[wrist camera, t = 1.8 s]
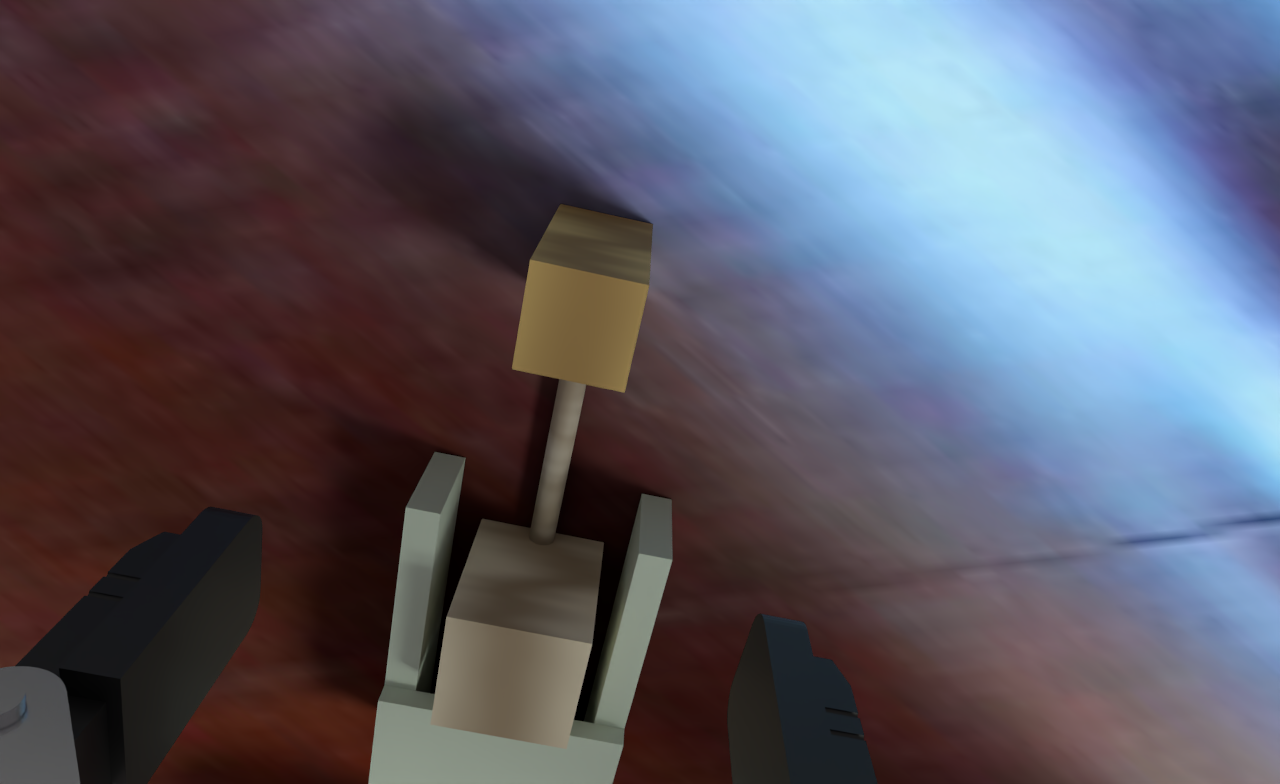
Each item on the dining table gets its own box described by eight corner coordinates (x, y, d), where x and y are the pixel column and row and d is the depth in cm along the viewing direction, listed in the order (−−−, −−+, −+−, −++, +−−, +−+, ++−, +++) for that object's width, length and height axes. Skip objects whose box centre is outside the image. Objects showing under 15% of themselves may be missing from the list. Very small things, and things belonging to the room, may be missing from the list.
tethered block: (678, 229, 29) (682, 292, 22) (581, 637, 36) (563, 771, 30) (533, 197, 28) (496, 252, 22) (466, 615, 36) (423, 746, 29)
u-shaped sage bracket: (671, 499, 33) (672, 573, 29) (601, 755, 39) (593, 849, 35) (434, 451, 32) (399, 520, 28) (399, 718, 38) (365, 810, 34)
